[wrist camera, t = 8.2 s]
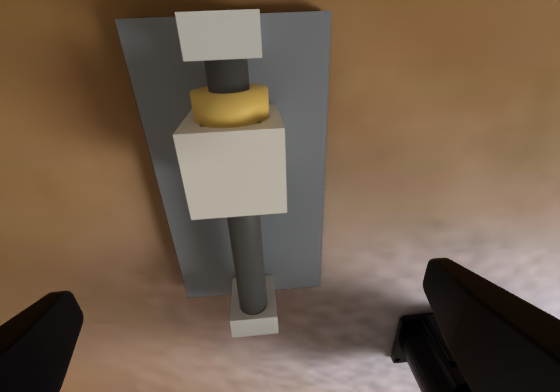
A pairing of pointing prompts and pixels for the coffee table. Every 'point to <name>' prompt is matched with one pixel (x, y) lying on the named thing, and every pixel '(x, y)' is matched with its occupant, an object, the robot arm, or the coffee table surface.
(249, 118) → the grey rod slide mechanism
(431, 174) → the coffee table surface
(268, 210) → the sleeve
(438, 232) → the coffee table surface
